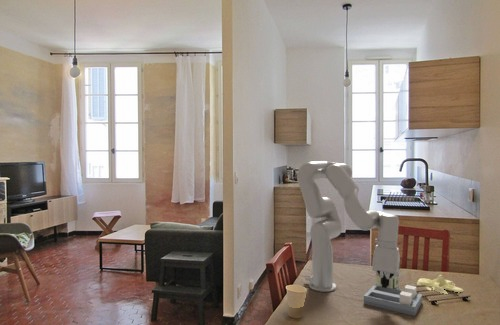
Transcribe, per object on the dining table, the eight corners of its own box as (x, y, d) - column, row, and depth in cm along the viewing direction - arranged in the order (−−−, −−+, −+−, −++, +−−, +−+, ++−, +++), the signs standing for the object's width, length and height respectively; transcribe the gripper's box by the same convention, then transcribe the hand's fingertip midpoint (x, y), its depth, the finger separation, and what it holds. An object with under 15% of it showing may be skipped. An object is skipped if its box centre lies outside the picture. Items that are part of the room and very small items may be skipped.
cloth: (410, 280, 181) (410, 268, 181) (447, 280, 181) (447, 268, 181) (432, 298, 159) (432, 284, 158) (474, 298, 158) (474, 284, 158)
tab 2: (399, 306, 145) (399, 294, 145) (401, 303, 148) (401, 291, 148) (410, 309, 143) (410, 296, 143) (412, 305, 146) (412, 293, 146)
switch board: (363, 303, 152) (363, 295, 152) (374, 292, 164) (374, 284, 164) (414, 316, 141) (414, 307, 141) (422, 302, 153) (422, 294, 153)
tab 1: (404, 299, 152) (404, 287, 152) (406, 296, 155) (406, 284, 155) (414, 301, 150) (414, 289, 150) (416, 298, 153) (416, 286, 153)
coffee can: (375, 281, 178) (375, 253, 177) (398, 284, 174) (398, 255, 174) (375, 289, 168) (375, 259, 168) (399, 292, 165) (399, 261, 164)
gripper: (366, 242, 150) (364, 285, 152) (404, 249, 142) (401, 294, 143) (371, 238, 156) (369, 279, 158) (408, 245, 148) (405, 288, 149)
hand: (384, 286), depth 150 cm, fingers closed
